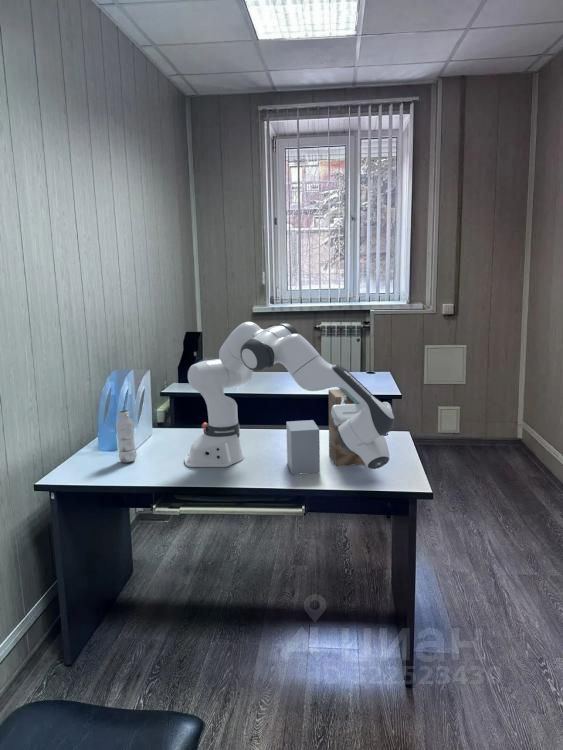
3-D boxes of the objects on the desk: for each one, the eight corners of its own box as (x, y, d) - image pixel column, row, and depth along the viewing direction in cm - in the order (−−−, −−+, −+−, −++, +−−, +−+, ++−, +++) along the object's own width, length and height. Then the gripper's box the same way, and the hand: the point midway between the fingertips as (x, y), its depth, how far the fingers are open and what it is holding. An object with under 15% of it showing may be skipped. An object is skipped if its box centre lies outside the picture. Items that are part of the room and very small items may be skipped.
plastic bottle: (140, 461, 209) (136, 410, 205) (124, 466, 204) (120, 414, 200) (131, 457, 213) (127, 408, 209) (115, 462, 208) (111, 411, 205)
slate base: (291, 474, 191) (291, 431, 188) (287, 462, 203) (286, 421, 200) (319, 472, 193) (319, 429, 190) (313, 461, 204) (313, 420, 201)
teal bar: (355, 403, 184) (355, 394, 183) (337, 386, 209) (337, 379, 209) (363, 402, 184) (363, 394, 184) (345, 386, 210) (345, 378, 209)
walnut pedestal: (336, 466, 198) (335, 397, 193) (329, 455, 210) (328, 389, 205) (367, 464, 200) (368, 395, 195) (359, 453, 211) (359, 388, 206)
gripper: (334, 434, 179) (326, 405, 189) (394, 430, 182) (383, 401, 192) (336, 421, 175) (328, 392, 185) (397, 417, 178) (386, 388, 188)
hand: (356, 397), depth 189 cm, fingers open, 8 cm apart
